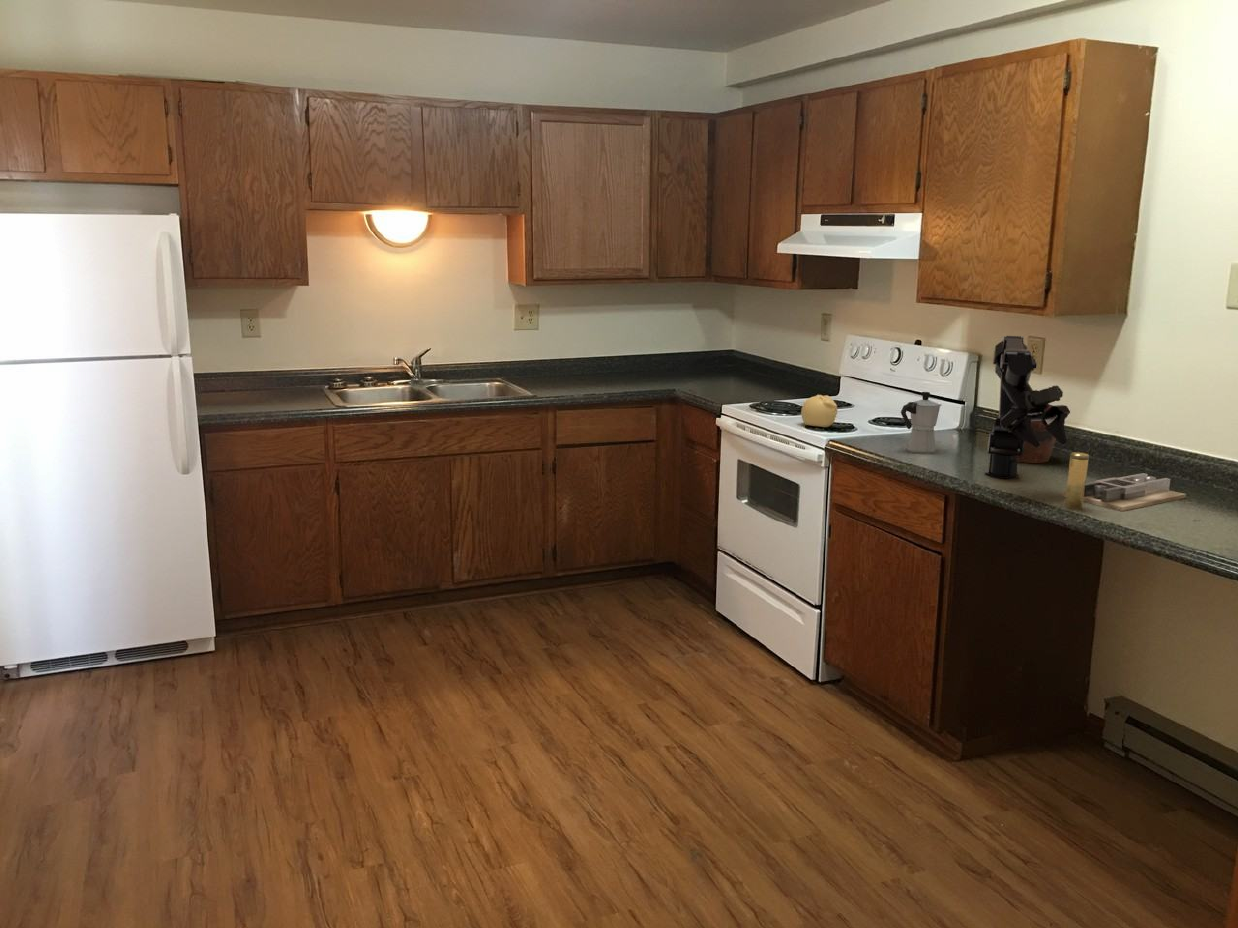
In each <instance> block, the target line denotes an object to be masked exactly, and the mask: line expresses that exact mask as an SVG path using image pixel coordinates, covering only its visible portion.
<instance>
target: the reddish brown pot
mask: <svg viewBox="0 0 1238 928" xmlns="http://www.w3.org/2000/svg"><path fill="white" fill-rule="evenodd" d="M1052 406H1054V405H1052V404H1051V403H1049V407H1048V408H1046V409H1044V412H1046V411H1048V410H1049V409H1050V408H1051V407H1052ZM997 418H999V413H998V414H997ZM997 418H996V419H997ZM1065 421H1066V420H1065ZM1065 421H1064V425H1066V422H1065ZM1031 427H1032V429H1033V431H1034V433H1035V435H1036V436H1037V438H1038V441H1039V443H1040V446H1039V447H1038V448H1036V447H1034V446H1033V445H1031V444H1030V443H1028V442H1027V441H1025V446H1024V452H1023V455H1021V456H1017V461H1018V462H1019V463H1029V464H1042V463H1047V462H1049V460H1050V459H1051V454H1052V451H1053V449H1054V446H1055V444H1056V441H1057V439H1056V438H1055V437H1054V436H1053V435H1052V434H1051V433H1050V432H1048V431H1047V430H1046V429H1045V427H1046V426H1045V425H1044V424H1043V423H1042V421H1041V420H1039V421H1031Z"/></svg>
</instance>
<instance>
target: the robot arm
mask: <svg viewBox="0 0 1238 928" xmlns="http://www.w3.org/2000/svg"><path fill="white" fill-rule="evenodd" d="M992 358H993V360H992V364H993V365H994V366H995V369H994V372H995V373H996V376H998V378H999V379H1000V383H999V385H1000V386H999V387H1000V388H999V405H998V406H999V407H998V408H999V409H998V414H999V418H996V419H995V420H994V423H993V425H992V431H989V436H988V439H987V440H988V441H987V448H986V449H987V454H989V463H988V464H989V466H988V471H984V475H986V476H991V477H995V478H999V479H1003V480H1005V479H1011V478H1017V477H1019V476H1020V474H1017V473H1018V472H1017V471H1018V461H1017V456H1021V455H1023V452H1024V446H1025V441H1027V442H1028V443H1030V444H1031V445H1033V446H1034V447H1036V448H1038V447H1039V446H1040V443H1039V441H1038V438H1037V436H1036V435H1035V433H1034V431H1033V429H1032V427H1031V421H1039V420H1041V421H1042V423H1043V424H1044V425H1045V426H1046V427H1045V429H1046V430H1047V431H1048V432H1050V433H1051V434H1052V435H1053V436H1054V437H1055V438H1056V441H1057V442H1059V443H1060V444H1062V446H1065V445H1066V444H1067V443H1068V441H1067V436H1066V430H1065V424H1064V421H1066V419H1067V418H1068V416H1069V414H1070V413H1071V410H1070V409H1069V407H1068V406H1067V405H1065V404H1057V405H1053V406H1052V407H1051V408H1050V409H1049V410H1048V411H1046V412H1044V409H1046V408H1048V407H1049V404H1052V403H1054V402H1059V401H1061V398H1063V396H1064V395H1063V393H1064V392H1063V390H1062V389H1061V387H1060V386H1059V385H1052V386H1050V387H1048V388H1042V389H1040V390H1037V389H1036V390H1034V389H1033V388H1032V387H1031V385H1030V383H1029V381H1030V378H1031V375H1032V373H1033V371H1034V370H1035V369H1037V361H1036V360H1035V358H1034V355H1032V352H1031V351H1030V350H1029V349H1028V347H1027V345H1026V344H1025V342H1024V336H1023V337H1022V336H1021V335H1020V336H1019V335H1006V336H1003V339H1002V341H1000V342H999V343H997V344H996V345H995V347H994V352H993V357H992Z"/></svg>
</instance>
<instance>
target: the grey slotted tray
mask: <svg viewBox="0 0 1238 928" xmlns="http://www.w3.org/2000/svg"><path fill="white" fill-rule="evenodd" d="M1170 485H1171V478H1168V477H1163V478H1158V479H1157V478H1156V476H1152V475H1148V473H1144V472H1142V473H1137V474H1131V475H1126V476H1121V477H1119V476H1118V477H1110V478H1108V477H1107V478H1103V479H1097V480H1094V481H1092V482H1086V483H1085V491H1084V497H1087V496H1092V495H1093V498H1095V499H1101V502H1104V503H1107V502H1112V501H1117V500H1128V499H1133V498H1138V497H1143V496H1145V495H1148V494H1153V493H1158V492H1163V491H1168V490H1170Z"/></svg>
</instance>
